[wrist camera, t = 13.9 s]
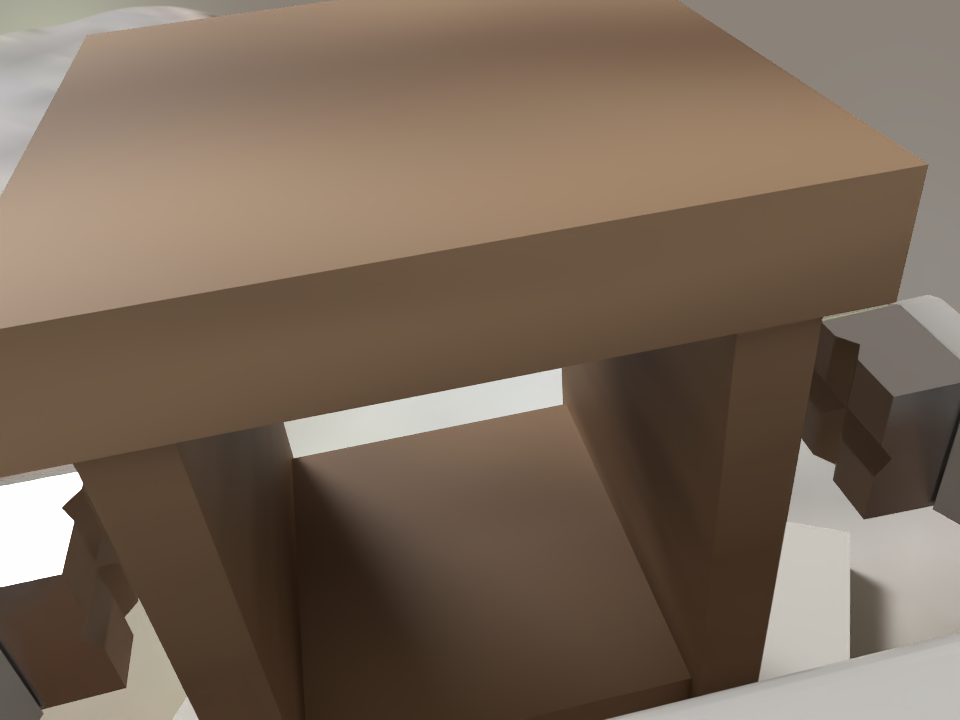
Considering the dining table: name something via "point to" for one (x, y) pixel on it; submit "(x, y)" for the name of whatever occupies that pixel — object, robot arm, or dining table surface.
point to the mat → (791, 605)
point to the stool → (439, 342)
